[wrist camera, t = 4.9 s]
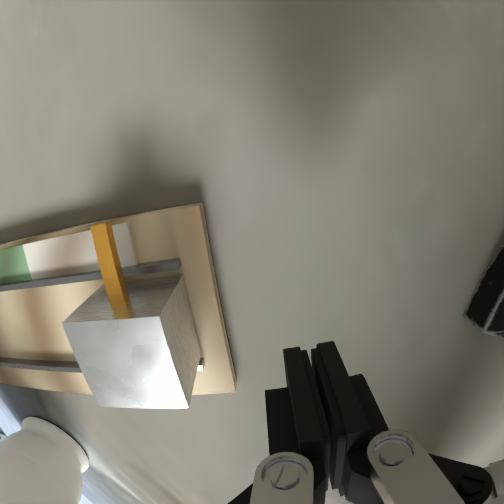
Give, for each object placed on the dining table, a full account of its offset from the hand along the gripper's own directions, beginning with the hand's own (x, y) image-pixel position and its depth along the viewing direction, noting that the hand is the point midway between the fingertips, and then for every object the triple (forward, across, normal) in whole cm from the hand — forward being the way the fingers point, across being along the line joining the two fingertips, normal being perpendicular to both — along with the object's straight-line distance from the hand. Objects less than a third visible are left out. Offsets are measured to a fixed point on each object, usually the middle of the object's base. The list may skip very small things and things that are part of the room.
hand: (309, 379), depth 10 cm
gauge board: (+9, +16, +1) cm, 19 cm away
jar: (+9, +25, +16) cm, 31 cm away
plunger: (+8, +8, -1) cm, 11 cm away
